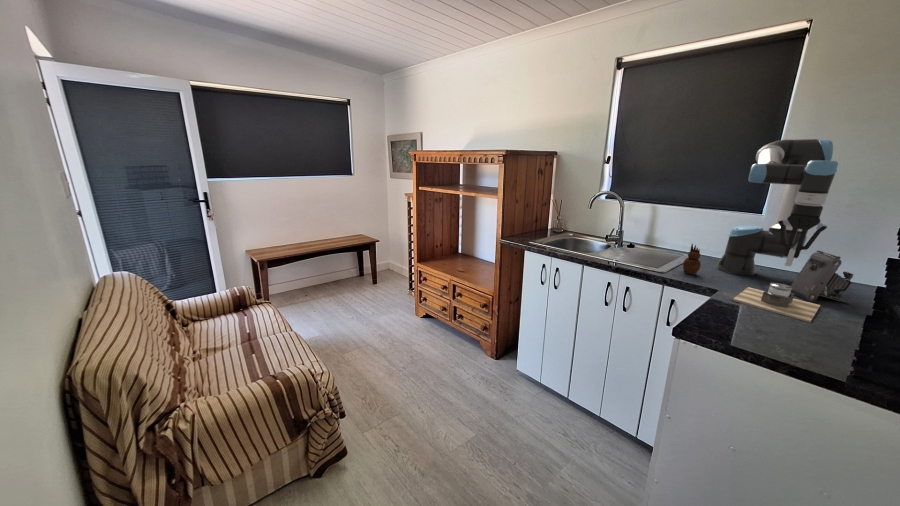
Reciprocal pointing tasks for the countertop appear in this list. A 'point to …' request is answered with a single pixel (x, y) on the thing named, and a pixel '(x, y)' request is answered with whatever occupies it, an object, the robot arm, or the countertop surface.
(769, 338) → the countertop surface
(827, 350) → the countertop surface
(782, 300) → the dark grey faceted bowl
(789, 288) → the glass jar
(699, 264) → the wooden figurine
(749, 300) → the mount board
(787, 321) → the countertop surface
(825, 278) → the camera
